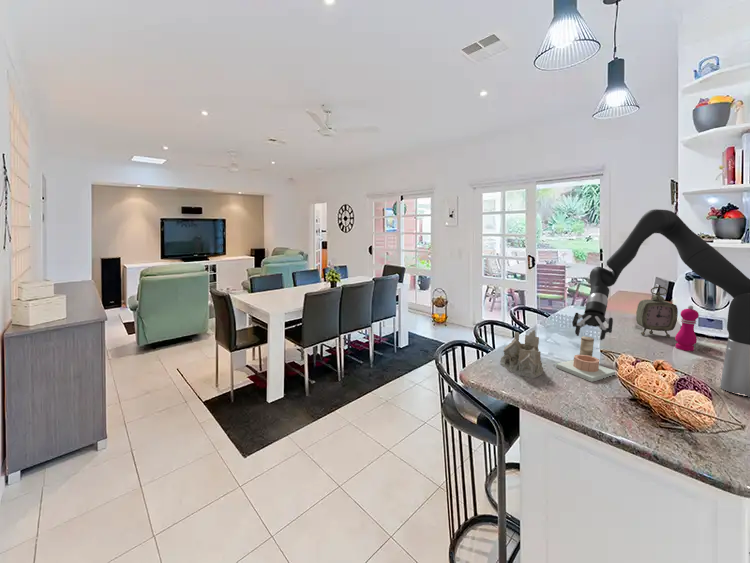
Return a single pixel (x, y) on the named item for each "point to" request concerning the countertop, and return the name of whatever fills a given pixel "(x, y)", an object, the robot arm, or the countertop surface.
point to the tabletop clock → (656, 314)
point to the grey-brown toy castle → (523, 356)
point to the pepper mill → (687, 330)
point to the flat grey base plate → (586, 368)
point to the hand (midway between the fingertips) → (589, 337)
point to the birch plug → (586, 346)
